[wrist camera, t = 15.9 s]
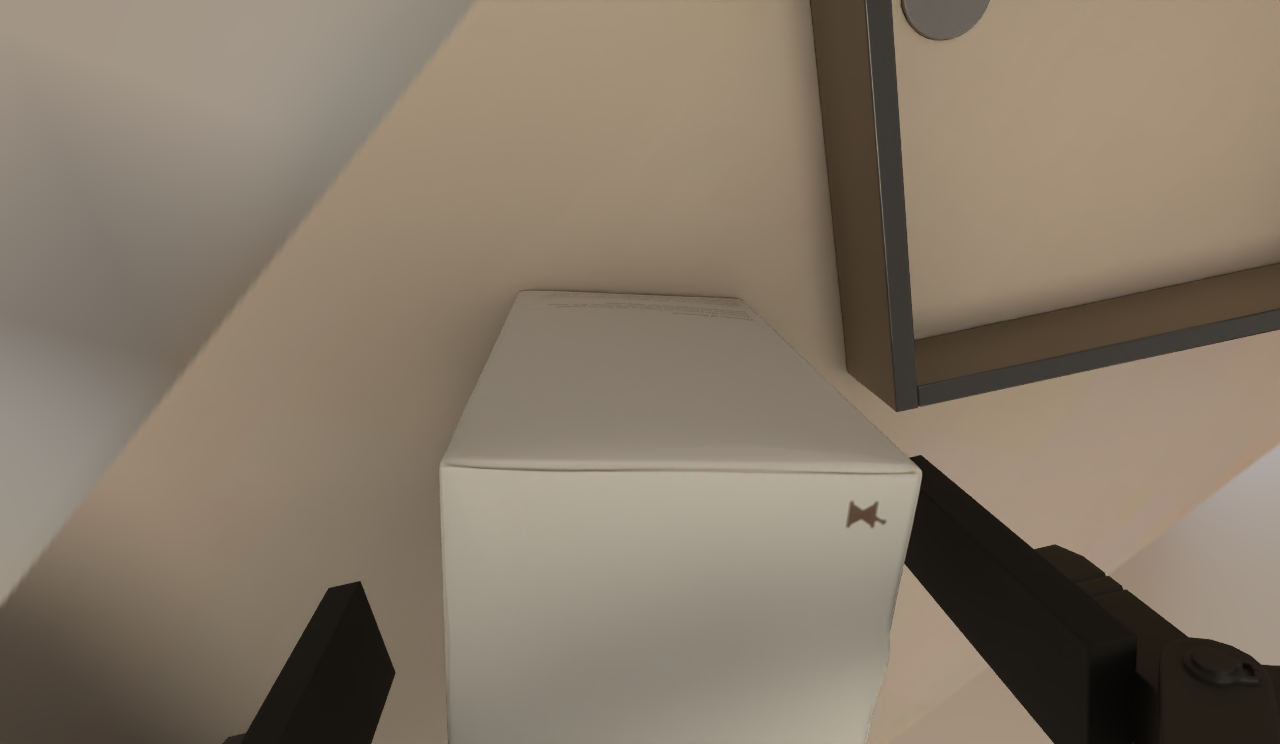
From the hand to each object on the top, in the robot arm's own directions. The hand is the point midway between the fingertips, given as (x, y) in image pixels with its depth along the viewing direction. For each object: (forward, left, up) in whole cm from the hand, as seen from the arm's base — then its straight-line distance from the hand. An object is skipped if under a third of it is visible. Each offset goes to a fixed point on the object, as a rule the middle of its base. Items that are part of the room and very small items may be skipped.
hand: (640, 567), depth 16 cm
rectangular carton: (0, 0, -11) cm, 11 cm away
